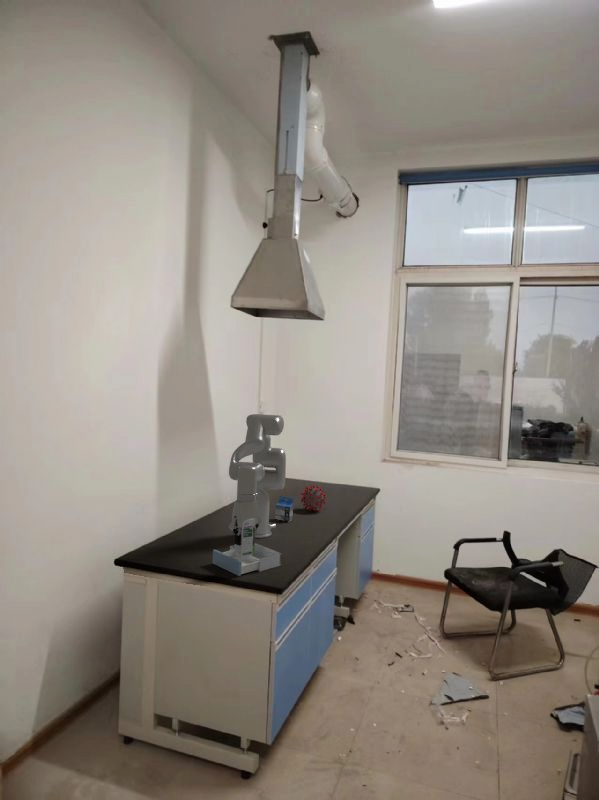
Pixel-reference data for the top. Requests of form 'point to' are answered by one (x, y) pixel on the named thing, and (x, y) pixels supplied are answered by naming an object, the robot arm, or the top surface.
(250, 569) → the tray
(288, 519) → the label tape cartridge
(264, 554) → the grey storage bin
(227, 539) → the top surface
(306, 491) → the virus model
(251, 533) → the syrup box
